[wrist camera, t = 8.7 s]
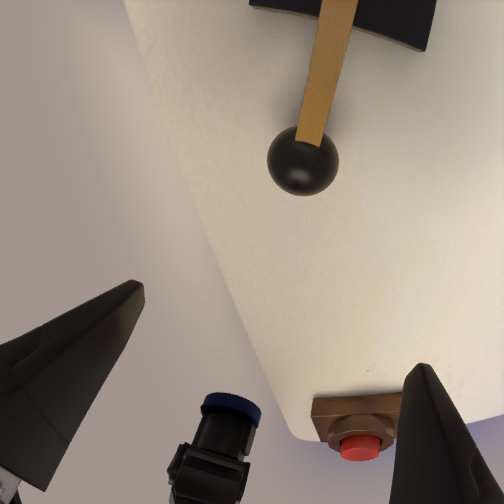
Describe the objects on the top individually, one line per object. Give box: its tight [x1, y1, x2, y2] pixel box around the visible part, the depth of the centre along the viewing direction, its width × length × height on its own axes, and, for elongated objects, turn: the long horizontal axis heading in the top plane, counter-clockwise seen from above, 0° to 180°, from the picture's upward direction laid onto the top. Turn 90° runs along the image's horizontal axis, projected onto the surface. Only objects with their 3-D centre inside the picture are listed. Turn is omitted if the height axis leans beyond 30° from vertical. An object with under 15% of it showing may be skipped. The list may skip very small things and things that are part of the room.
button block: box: [311, 392, 403, 453], centre depth 29 cm, size 10×7×4 cm
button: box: [340, 435, 380, 461], centre depth 27 cm, size 4×4×2 cm
